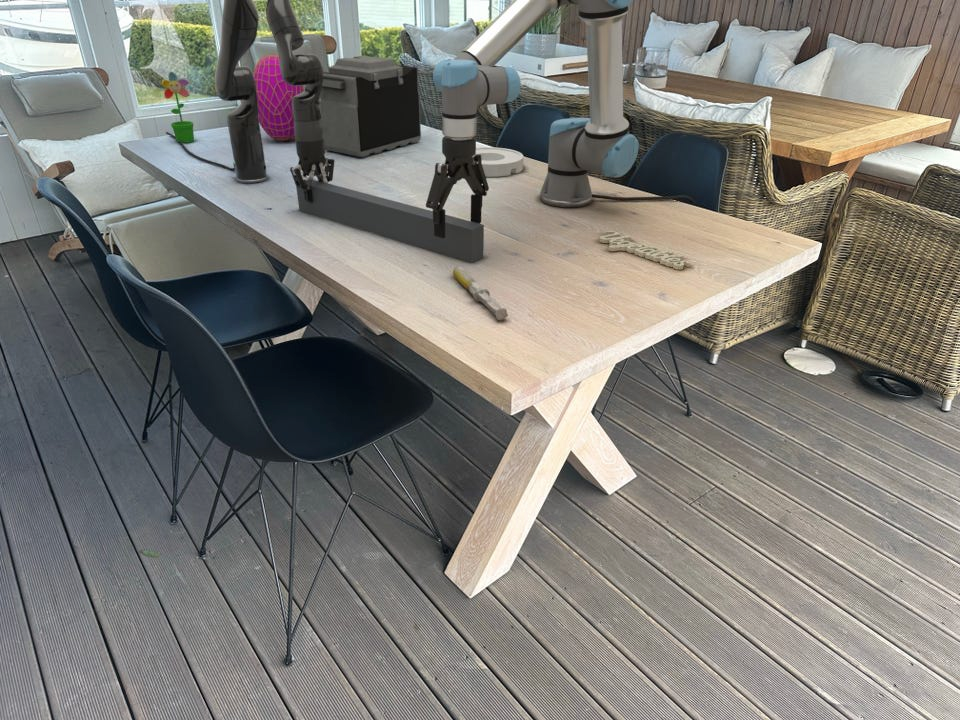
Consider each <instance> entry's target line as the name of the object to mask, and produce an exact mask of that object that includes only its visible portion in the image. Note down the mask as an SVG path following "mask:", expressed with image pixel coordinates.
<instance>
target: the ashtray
mask: <svg viewBox="0 0 960 720" xmlns="http://www.w3.org/2000/svg"><path fill="white" fill-rule="evenodd" d="M475 154H480V155H481V160H482V166H483V170H484V173H485V176H486V178H490V177H491V178H498V177H507V176H511V174H519V173H520V172H522V171H523V169H524V159H525V158H524V155H523V153H522V152H520V151H517V150H514V149H510V148H505V147H504V148H503V147H493V146H492V147H491V146H486V147H485V146H484V147H483V146H481V147H480V146H479V147H476V153H475Z"/></svg>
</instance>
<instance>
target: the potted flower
mask: <svg viewBox="0 0 960 720" xmlns="http://www.w3.org/2000/svg"><path fill="white" fill-rule="evenodd" d="M167 76H168V77H167V78H168V79H165V78H164V79H162V80H161V84H160V85H161V86H162V87H163V88H166V89H165V90H164V93H163V95H164V98H165V99H171V98H172V97H173V96H175V101H176V106H177V108H172V109H171V110H170V112H171V113H172V114H174V115H179V120H180V121H174V122H171V123H170V127H171V129H172V130H173V133H174V134H173V135H174V136H175V137H176V139H175V140H176V142H177V143H179V142H178V141H181V142H182V144H188V143H192V142H194V141H195V135H194V122H193V121H190V120H183V116H182V111H181V109H182V108H183V107H184V106H185V104H184V103H180V101H179V96H178V95H180V96H181V97H183V98H187V97H190V92H189V90H187V89H186V88H184V87H186V86H188V84H189V83H190V81H189V80H188V79H186V78H183V77H182V78H179V79H178V76H177V74H176V73H175V72H174V71H169V73H168V75H167Z"/></svg>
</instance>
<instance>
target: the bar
mask: <svg viewBox="0 0 960 720" xmlns="http://www.w3.org/2000/svg"><path fill="white" fill-rule="evenodd" d="M306 185H307V184H306ZM311 190H312V197H313V203H307V202H306V201H305V199H304V192H303V189H301V188H297V187H296V196H297V203H298V211H299V212H302V213H306V214H309V215H312V216H315V217H320V218H323V219H326V220H329V221H332V222H336V223H339V224H343V225H345V226H349V227H352V228H355V229H359V230H362V231H365V232H368V233H371V234H375V235H377V236H378V235H379V236H380V237H381V236H382V237H385V238H388V239H391V240H395V241H399V242H401V243H405V244H407V245H411V246H415V247H417V248H421V249H424V250H428V251H430V252H433V253H437V254H441V255H443V256H447V257H450V258H453V259H457V260H461V261H463V262H467V263H470V264H474V263H476V262H477V261H479V260H482V259H484V245H485V243H484V240H485V234H484V232H485V225H484V224H483V223H480V224H479V223H475V222H471V220H467V219H464V218H461V217H456V216H452V215H448V214H445V238H440V237H437V236H434V223H433V210H429V209H427V208H423V207H418V206H415V205H412V204H408V203H403V202H400V201H397V200H393V199H388V198H384V197H381V196H377V195H373V194H369V193H366V192H362V191H358V190H354V189H351V188H346V187H343V186H339V185H335V184H332V183H329V182H328V183H324V182H321V181H318V179H317V180H316V179H313V181H312V184H311Z"/></svg>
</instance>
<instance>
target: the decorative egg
mask: <svg viewBox="0 0 960 720" xmlns="http://www.w3.org/2000/svg"><path fill="white" fill-rule="evenodd" d="M253 70H254V71H252V73H253V75H254V78H255V83H256V91H257V102H258V111H259V125H260V128H262V130H263V131H264V133H266V135H267V136H268V137H270V138H271V139H273V140H275V141H282V142H286V141H291V140H293V139H295V134H294V117H293V109H292V98H293V97H294V96H296V95H298V94H300V93H302V92H303V91H304V89H305V86H304V85H299V86H291V85H289V84H287V83H286V82H285V81H284V79H283V78H282V76H281V72H280V65H279V56H278V54H268V55H265V56H262V57H261V58H260V59H259V60H258V61H257V62H256V65H255V68H254V69H253Z"/></svg>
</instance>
